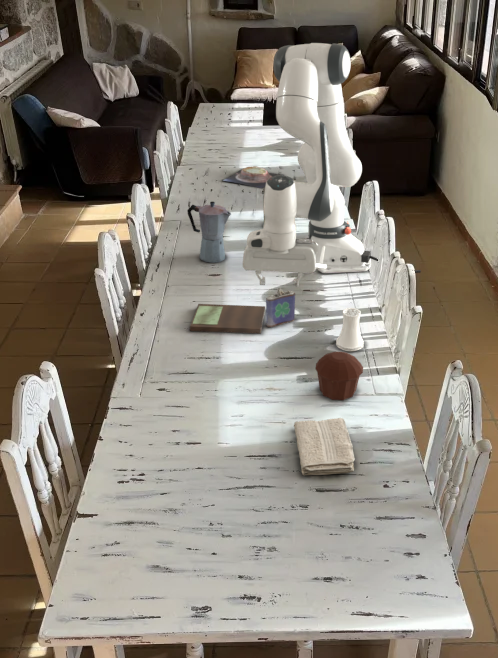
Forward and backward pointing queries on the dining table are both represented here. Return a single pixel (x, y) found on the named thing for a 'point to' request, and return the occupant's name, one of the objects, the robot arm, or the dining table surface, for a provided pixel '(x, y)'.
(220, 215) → the moka pot
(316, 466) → the washcloth
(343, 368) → the muffin
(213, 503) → the dining table surface
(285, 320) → the flask
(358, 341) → the white salt shaker
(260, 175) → the quiche
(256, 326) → the board
